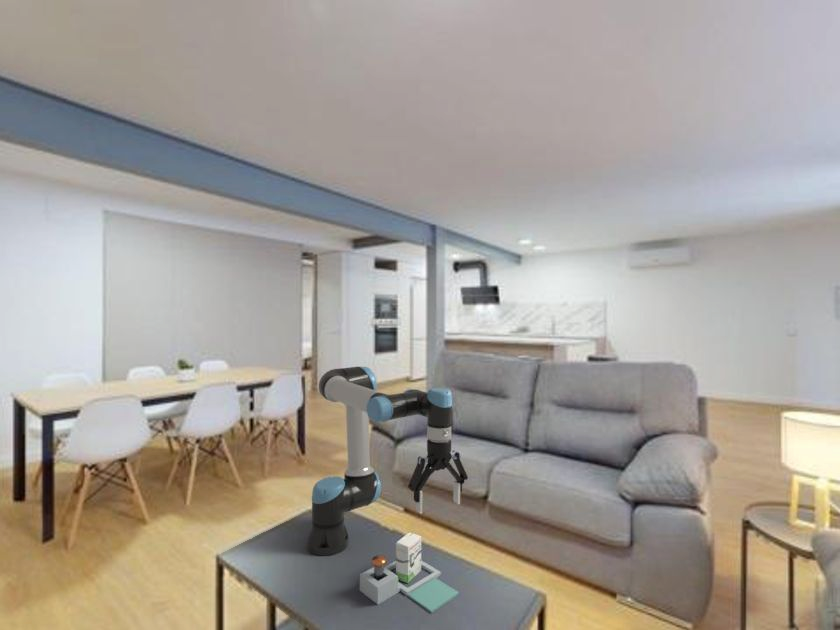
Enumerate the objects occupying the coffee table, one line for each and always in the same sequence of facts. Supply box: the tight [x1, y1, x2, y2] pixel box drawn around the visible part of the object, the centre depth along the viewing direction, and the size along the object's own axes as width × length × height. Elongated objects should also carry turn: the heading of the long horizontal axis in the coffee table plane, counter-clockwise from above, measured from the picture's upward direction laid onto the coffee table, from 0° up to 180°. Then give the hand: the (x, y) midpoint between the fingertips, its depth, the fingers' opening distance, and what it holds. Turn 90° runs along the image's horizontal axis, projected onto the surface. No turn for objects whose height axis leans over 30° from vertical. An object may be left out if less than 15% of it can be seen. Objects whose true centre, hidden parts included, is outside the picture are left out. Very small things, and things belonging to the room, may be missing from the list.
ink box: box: [395, 532, 422, 584], centre depth 141 cm, size 9×5×12 cm, turn 149°
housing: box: [359, 559, 442, 605], centre depth 138 cm, size 15×24×5 cm, turn 134°
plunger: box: [371, 554, 387, 581], centre depth 133 cm, size 4×4×6 cm
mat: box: [407, 577, 460, 614], centre depth 131 cm, size 10×12×1 cm
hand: (438, 507), depth 133 cm, fingers open, 13 cm apart
